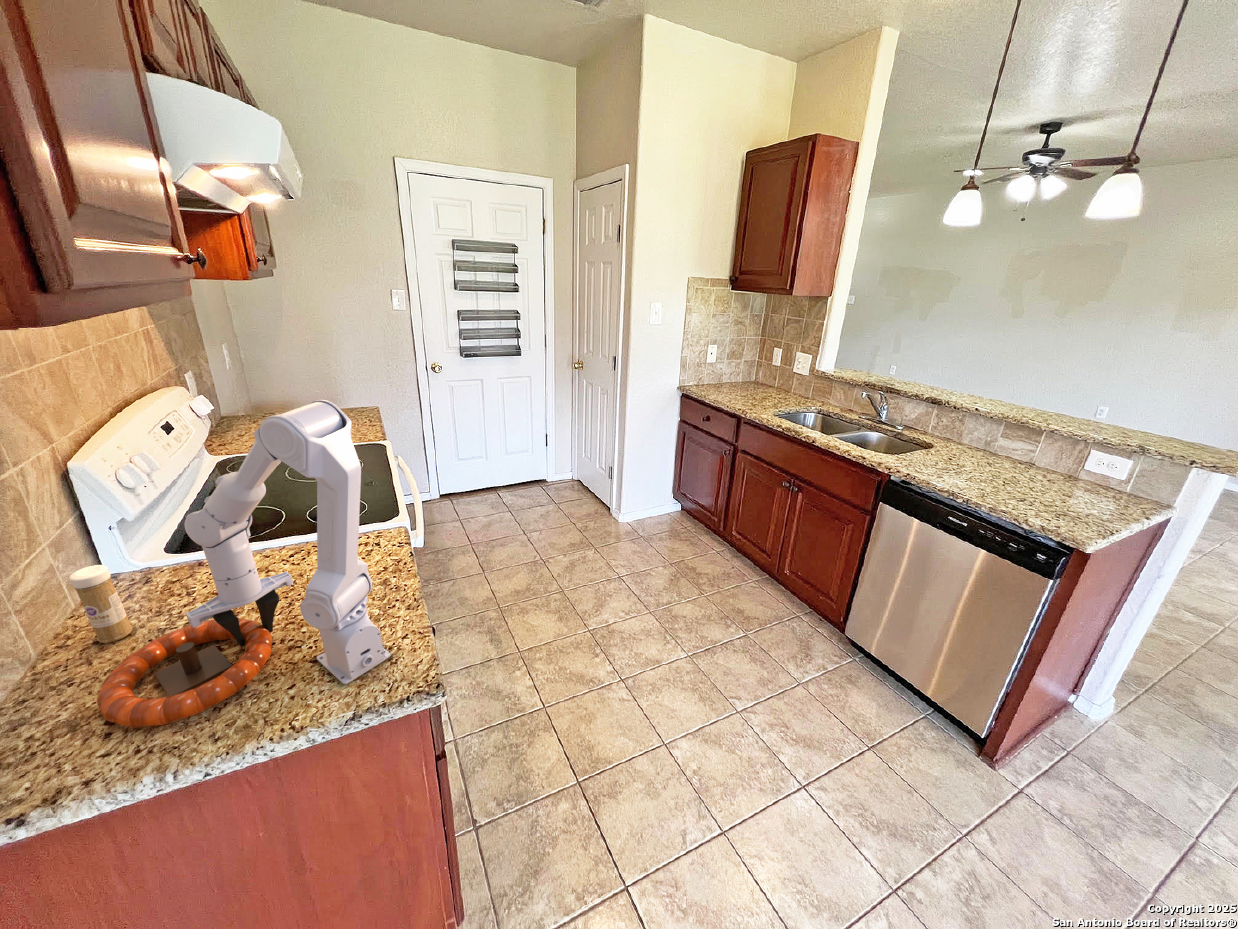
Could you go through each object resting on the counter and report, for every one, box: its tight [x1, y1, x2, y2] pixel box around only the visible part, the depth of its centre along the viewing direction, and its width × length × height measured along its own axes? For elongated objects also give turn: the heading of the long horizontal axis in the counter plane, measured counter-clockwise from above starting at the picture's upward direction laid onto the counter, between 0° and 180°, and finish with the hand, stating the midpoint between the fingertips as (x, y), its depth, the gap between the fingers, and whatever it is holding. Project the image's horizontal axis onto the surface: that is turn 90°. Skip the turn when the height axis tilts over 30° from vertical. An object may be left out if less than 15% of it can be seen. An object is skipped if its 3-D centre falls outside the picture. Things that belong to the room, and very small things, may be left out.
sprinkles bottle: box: [68, 564, 134, 644], centre depth 84 cm, size 5×5×13 cm
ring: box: [96, 617, 273, 729], centre depth 79 cm, size 21×21×4 cm
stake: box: [153, 642, 234, 697], centre depth 78 cm, size 8×8×6 cm
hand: (255, 636), depth 85 cm, fingers closed on ring, 3 cm apart
